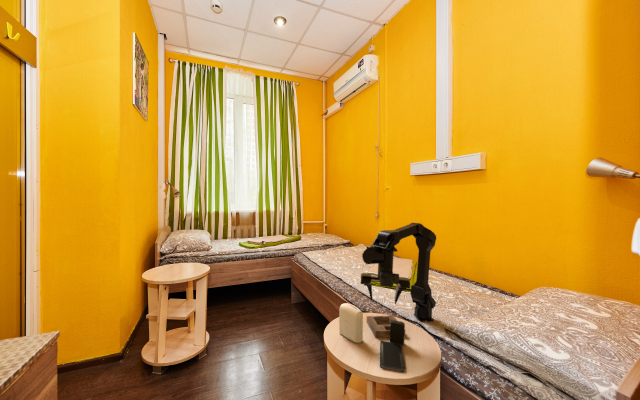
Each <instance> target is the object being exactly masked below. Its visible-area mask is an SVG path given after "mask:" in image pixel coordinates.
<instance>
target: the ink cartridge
mask: <svg viewBox="0 0 640 400" xmlns="http://www.w3.org/2000/svg"><path fill="white" fill-rule="evenodd" d="M396 320H397V319H396ZM396 320H391V324H389V325H390V337H389V342H393V343H400V344H402V347H404V346H405V345H404V344H405V337H404V333H405V334H406V329H405V328H406V324H405V322H403V321H400V320H397V321H396Z"/></svg>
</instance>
